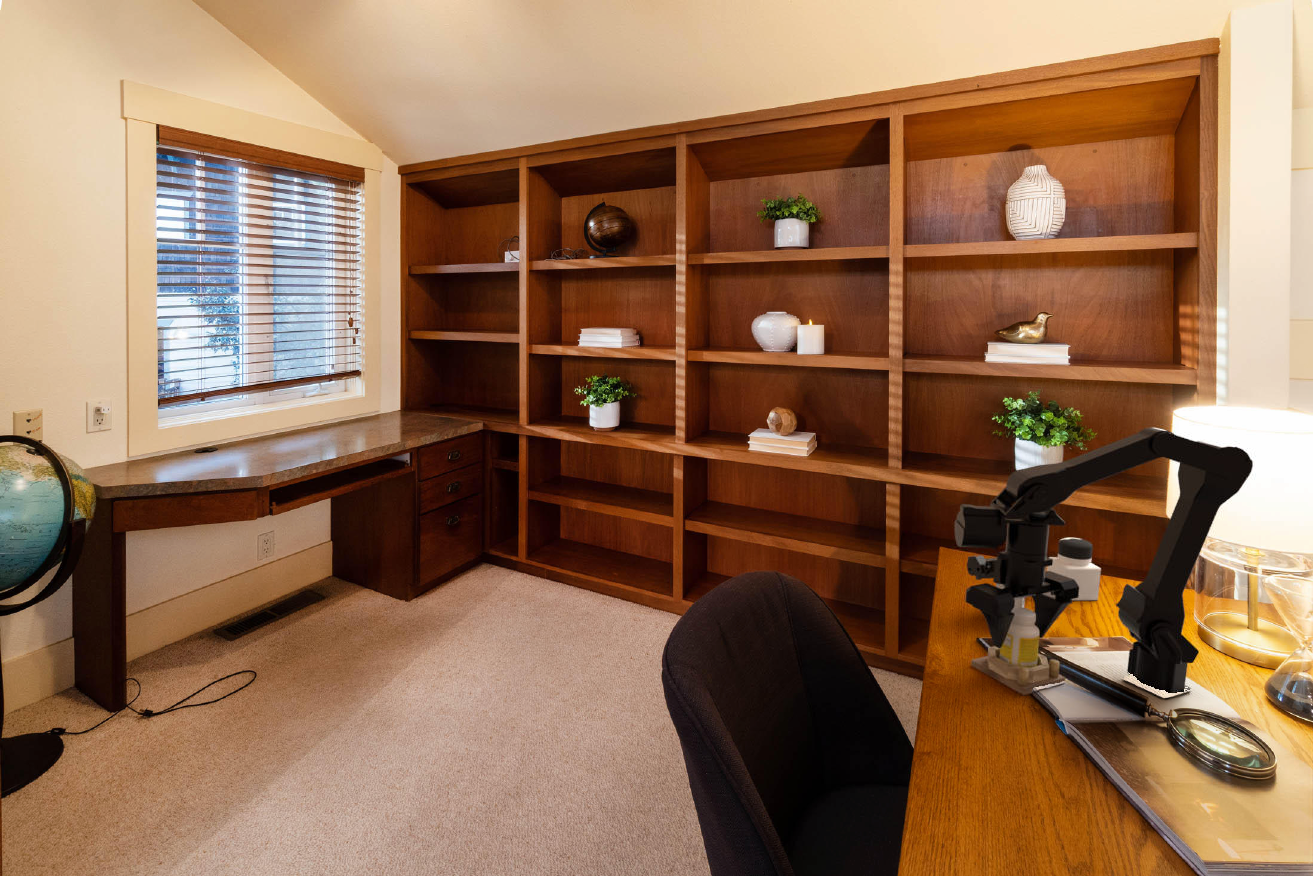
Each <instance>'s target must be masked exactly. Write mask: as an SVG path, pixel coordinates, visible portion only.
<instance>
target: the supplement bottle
mask: <svg viewBox="0 0 1313 876" xmlns="http://www.w3.org/2000/svg"><path fill="white" fill-rule="evenodd" d="M1011 612H1012V613H1014V617H1013V620H1012V623H1011V625H1010V628H1009V630H1008V633H1007V636H1006V638H1005V641H1004V643H1003V645H1002V647H1001V648H1000V657H999V659H1001V660H1003V661H1005V662H1006V663H1008V664H1010V665H1015V666H1021V667H1027V668H1031V667H1035V666H1037V659H1038V653H1039V644H1040V638H1039V629H1038V627H1037V626H1036V625H1034V623H1035V621H1036V613H1035V611H1034V610H1032V609H1029V608H1026V607H1024V608H1022V607H1014V608H1013V609H1012V611H1011Z"/></svg>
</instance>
